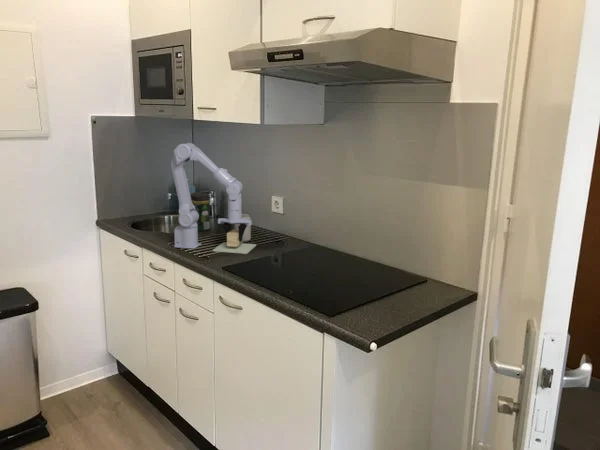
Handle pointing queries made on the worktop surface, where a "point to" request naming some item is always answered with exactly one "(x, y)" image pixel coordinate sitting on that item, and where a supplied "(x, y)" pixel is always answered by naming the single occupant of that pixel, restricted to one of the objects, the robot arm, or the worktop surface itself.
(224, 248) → the rubber mat
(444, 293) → the worktop surface
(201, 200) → the coffee jar
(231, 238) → the birch block
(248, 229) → the can
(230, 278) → the worktop surface
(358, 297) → the worktop surface
